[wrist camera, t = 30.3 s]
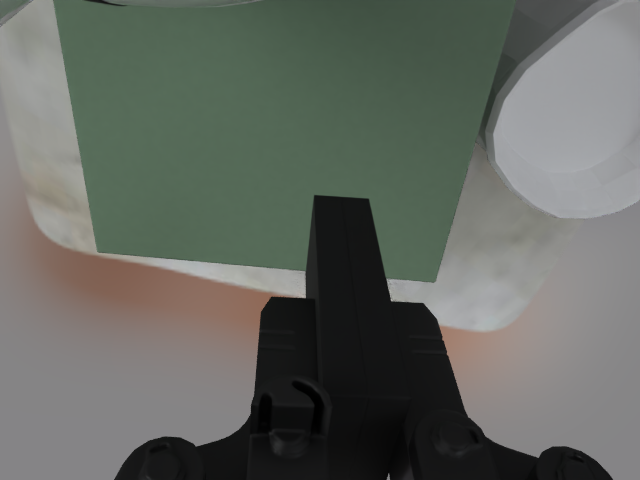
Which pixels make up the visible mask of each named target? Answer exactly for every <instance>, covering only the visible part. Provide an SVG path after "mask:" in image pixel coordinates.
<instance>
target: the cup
mask: <svg viewBox="0 0 640 480" xmlns="http://www.w3.org/2000/svg"><path fill="white" fill-rule="evenodd" d="M476 142H477V143H478V144H479V145H480V146H481V147H482V148H483V149H484V150H485V151H486V152H487V158H488V161H489V163H490V164H491V165H492V167H493V168H494V170H495V171H496V173H497V174H498V175H499V177H500V178H501V180H502V181H503V182H504V184H505V185H506V187H507V188H508V189H509V190H511V191H512V192H513V193H514V194H515V195H517V196H518V197H519V198H520V199H521V200H523V201H524V202H525V203H526V204H527V205H528V206H530V207H532V208H534V209H537V210H539V211H541V212H543V213H545V214H547V215H550V216H552V217H554V218H576V219H590V218H595V217H599V216H603V215H608V214H613V213H617V212H619V211H621V210H623V209H625V208H627V207H629V206H631V205H632V204H635V203H637V202H638V201H640V0H516V3H515V7H514V10H513V14H512V17H511V21H510V24H509V28H508V31H507V35H506V38H505V42H504V45H503V49H502V52H501V56H500V59H499V62H498V66H497V69H496V73H495V76H494V80H493V83H492V87H491V90H490V94H489V97H488V101H487V104H486V108H485V111H484V115H483V118H482V122H481V125H480V128H479V132H478V135H477V139H476Z"/></svg>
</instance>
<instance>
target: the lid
mask: <svg viewBox="0 0 640 480" xmlns="http://www.w3.org/2000/svg"><path fill="white" fill-rule="evenodd" d="M53 2H54V8H55V14H56V19H57V25H58V31H59V36H60V42H61V48H62V53H63V59H64V65H65V71H66V76H67V82H68V88H69V93H70V99H71V105H72V111H73V116H74V122H75V128H76V133H77V139H78V145H79V151H80V156H81V162H82V168H83V173H84V179H85V185H86V191H87V196H88V202H89V208H90V213H91V219H92V225H93V231H94V236H95V242H96V248H97V252H99V253H111V254H122V255H133V256H144V257H155V258H166V259H177V260H188V261H200V262H211V263H222V264H233V265H244V266H255V267H266V268H277V269H289V270H300V271H306V264H307V255H308V246H309V236H310V227H311V217H312V208H313V199H314V195H324V196H339V197H353V198H368V199H369V201H370V206H371V210H372V215H373V220H374V224H375V229H376V234H377V238H378V243H379V248H380V252H381V257H382V262H383V266H384V271H385V276H386V278H389V279H400V280H411V281H422V282H433V283H434V282H435V281H436V278H437V274H438V271H439V267H440V264H441V260H442V257H443V254H444V250H445V247H446V243H447V240H448V236H449V233H450V229H451V226H452V222H453V219H454V215H455V212H456V208H457V205H458V201H459V198H460V194H461V191H462V188H463V184H464V181H465V177H466V174H467V170H468V167H469V163H470V160H471V156H472V153H473V149H474V146H475V142H476V139H477V135H478V132H479V128H480V125H481V122H482V118H483V115H484V111H485V108H486V104H487V101H488V97H489V94H490V90H491V87H492V83H493V80H494V76H495V73H496V69H497V66H498V62H499V59H500V56H501V52H502V49H503V45H504V42H505V38H506V35H507V31H508V28H509V24H510V21H511V17H512V14H513V10H514V7H515V3H516V0H263V1H258V2H253V3H247V4H239V5H230V6H222V7H200V8H151V7H139V6H114V5H108V4H102V3H96V2H90V1H84V0H53Z"/></svg>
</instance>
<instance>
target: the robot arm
mask: <svg viewBox="0 0 640 480" xmlns="http://www.w3.org/2000/svg"><path fill="white" fill-rule="evenodd" d="M305 275H306V298H288V297H271V298H270V300H269V301H268V302H267V304H266V305H265V307H264V308H263V310H262V311H261V319H260V332H259V343H258V355H257V368H256V381H255V391H254V397H253V400H252V404H251V414H250V416H249V418H248V420H247V421H246V423H245V424H244V425H243V426H242V427H241V428H240V429H239V430H238V431H236V432H235V433H233V434H232V435H230V436H229V437H226V438H224V439H221V440H218V441H215V442H211V443H208V444H204V445H201V446H197V447H196V446H195V445H194V444H193V443H191V442H189V441H187V440H184V439H182V438H179V437H161V438H158V439H154V440H150V441H148V442H146V443H144V444H143V445H141V446H140V447H138V448H137V449H135V450H134V451H133V452H132V453H131V455H130V456H129V457H128V458H127V460H126V461H125V462H124V463H123V465H122V467H121V468H120V470H119V472H118V474H117V476H116V477H115V479H114V480H387V477H388V473H389V475H390V480H613V479H612V478H611V476H610V475H609V474H608V472H607V471H606V470H605V469H603V467H602V466H601V465H600V464H599V463H598V462H597V461H595V460H594V459H593V458H591V457H590V456H588V455H586V454H585V453H583V452H582V451H579V450H576V449H572V448H569V447H565V446H562V447H551V448H549V449H547V450H545V451H543V452H542V453H541V455H540V457H539V458H537V457H534V456H531V455H527V454H525V453H522V452H519V451H515V450H513V449H509V448H506V447H504V446H502V445H499V444H497V443H495V442H493V441H492V440H490V439H489V438H487V437H485V435H484V433H483V431H482V429H481V428H480V427H479V426H477V424H476V423H474V422H473V421H472V420H471V419H470V418H468V416H467V414H466V412H465V409H464V406H463V403H462V399H461V396H460V393H459V389H458V386H457V383H456V380H455V377H454V373H453V370H452V367H451V363H450V360H449V357H448V355H447V350H446V347H445V344H444V341H442V334H441V331H440V328H439V324H438V321H437V319H436V317H435V316H434V315H433V314H432V313H431V312H430V310H429V309H428V308H427V307H426V306H425V304H424V303H411V302H392V301H391V299H390V294H389V290H388V285H387V280H386V276H385V271H384V266H383V262H382V257H381V252H380V248H379V243H378V238H377V234H376V229H375V224H374V220H373V215H372V210H371V206H370V201H369V199H368V198H353V197H339V196H324V195H314V199H313V208H312V217H311V227H310V236H309V246H308V255H307V264H306V274H305Z"/></svg>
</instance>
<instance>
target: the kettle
mask: <svg viewBox="0 0 640 480" xmlns="http://www.w3.org/2000/svg"><path fill="white" fill-rule="evenodd" d="M32 1H33V0H0V27H1V26H3V25H4V24H5V23H6V22H7V21H9V20H10V19H11V18H12V17H13V16H15V15H16V14H17V13H18V12H19V11H21V10H22V9H23V8H24V7H25V6H27V5H28V4H29V3H30V2H32ZM84 1H90V2H96V3H102V4H108V5H114V6H139V7H151V8H200V7H222V6H230V5H239V4H247V3H253V2H258V1H263V0H84Z"/></svg>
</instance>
